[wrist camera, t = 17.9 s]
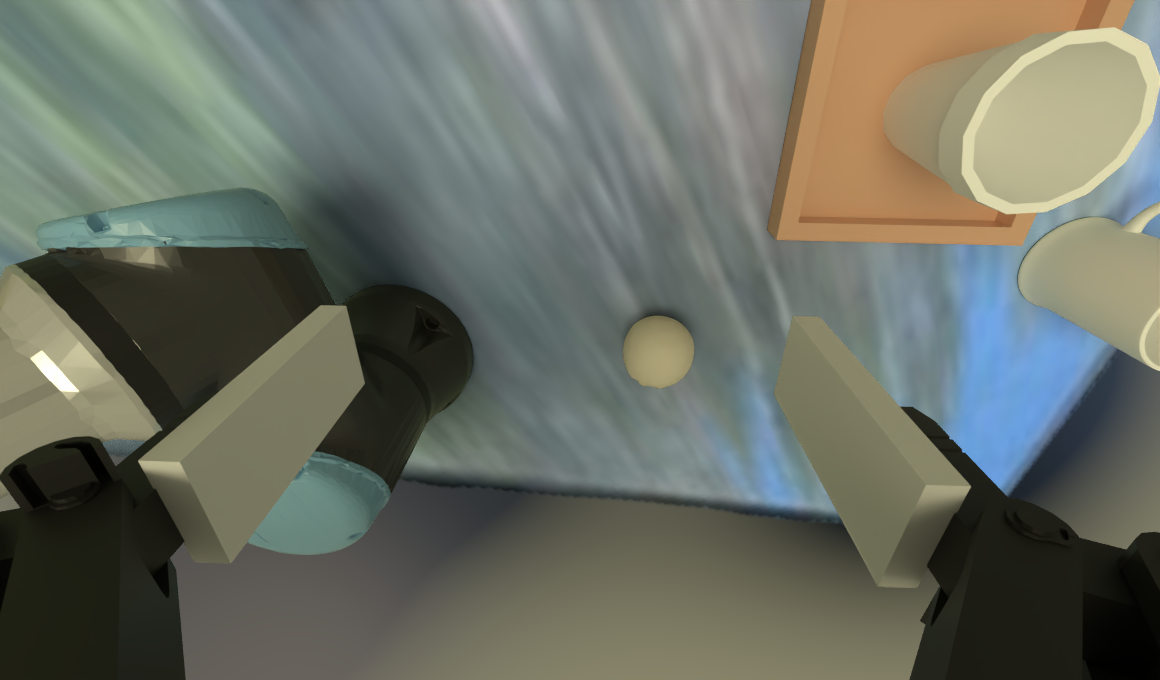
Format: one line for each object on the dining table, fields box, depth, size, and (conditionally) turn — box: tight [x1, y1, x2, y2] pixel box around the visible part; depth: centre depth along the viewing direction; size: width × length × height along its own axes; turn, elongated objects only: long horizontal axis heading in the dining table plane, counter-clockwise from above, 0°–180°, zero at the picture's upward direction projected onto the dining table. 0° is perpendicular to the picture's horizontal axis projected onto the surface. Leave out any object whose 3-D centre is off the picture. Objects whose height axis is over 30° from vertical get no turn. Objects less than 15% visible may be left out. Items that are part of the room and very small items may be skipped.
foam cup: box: [883, 27, 1160, 214], centre depth 33 cm, size 10×9×13 cm
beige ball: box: [623, 316, 694, 388], centre depth 48 cm, size 7×7×7 cm
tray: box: [767, 0, 1134, 246], centre depth 38 cm, size 20×20×3 cm
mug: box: [1018, 202, 1160, 371], centre depth 38 cm, size 12×8×12 cm
